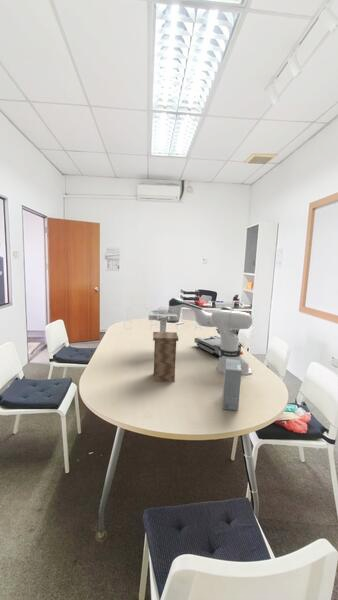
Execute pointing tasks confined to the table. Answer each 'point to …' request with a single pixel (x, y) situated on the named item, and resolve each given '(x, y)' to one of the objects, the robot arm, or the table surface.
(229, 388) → the hard drive box
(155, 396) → the table surface
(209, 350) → the game console
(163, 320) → the link bar
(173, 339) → the walnut stand
